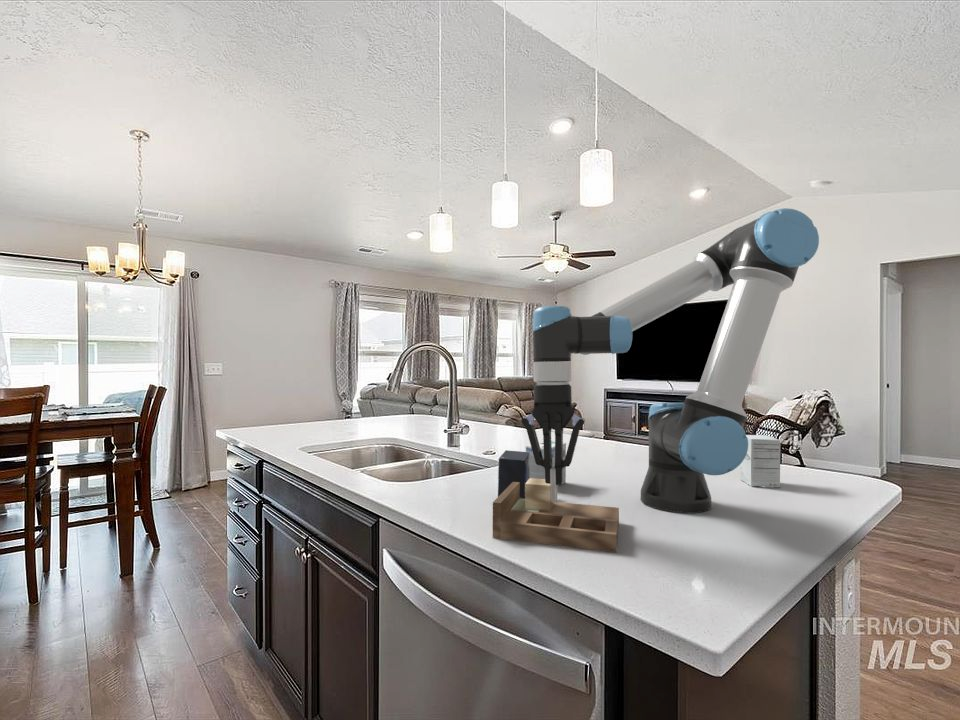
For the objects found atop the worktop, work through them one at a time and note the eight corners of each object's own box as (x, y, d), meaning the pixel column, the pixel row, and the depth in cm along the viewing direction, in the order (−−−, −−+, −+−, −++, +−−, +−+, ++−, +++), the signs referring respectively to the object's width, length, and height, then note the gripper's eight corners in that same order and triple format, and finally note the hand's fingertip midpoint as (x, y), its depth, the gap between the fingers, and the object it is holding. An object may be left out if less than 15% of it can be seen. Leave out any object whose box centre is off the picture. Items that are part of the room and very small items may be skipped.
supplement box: (739, 480, 136) (739, 434, 136) (768, 481, 135) (768, 435, 134) (750, 487, 128) (750, 438, 128) (781, 488, 127) (781, 439, 127)
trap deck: (618, 522, 100) (619, 490, 100) (616, 552, 84) (616, 514, 84) (512, 511, 106) (512, 481, 106) (492, 537, 91) (492, 502, 91)
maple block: (553, 503, 102) (553, 479, 102) (550, 510, 97) (550, 485, 97) (530, 501, 103) (529, 478, 103) (525, 508, 99) (525, 483, 99)
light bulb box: (544, 479, 136) (544, 439, 135) (566, 482, 132) (567, 442, 132) (524, 487, 127) (524, 445, 127) (547, 491, 123) (548, 448, 123)
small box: (525, 506, 111) (525, 459, 110) (496, 504, 112) (497, 458, 112) (530, 493, 121) (530, 450, 121) (504, 492, 122) (504, 449, 122)
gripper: (585, 382, 101) (587, 497, 101) (525, 382, 105) (527, 493, 105) (582, 384, 94) (584, 508, 94) (517, 384, 98) (519, 503, 98)
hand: (554, 500), depth 99 cm, fingers closed
